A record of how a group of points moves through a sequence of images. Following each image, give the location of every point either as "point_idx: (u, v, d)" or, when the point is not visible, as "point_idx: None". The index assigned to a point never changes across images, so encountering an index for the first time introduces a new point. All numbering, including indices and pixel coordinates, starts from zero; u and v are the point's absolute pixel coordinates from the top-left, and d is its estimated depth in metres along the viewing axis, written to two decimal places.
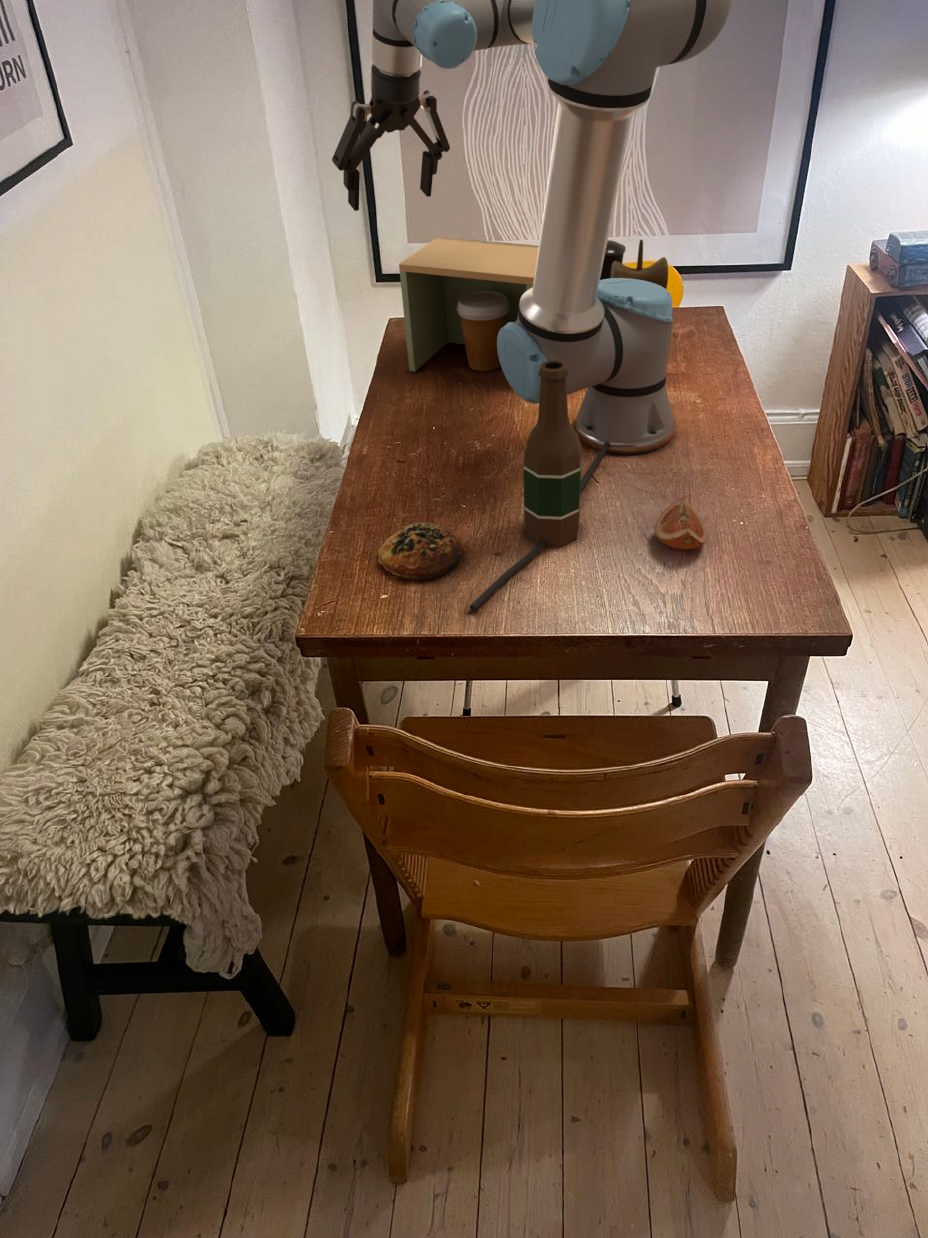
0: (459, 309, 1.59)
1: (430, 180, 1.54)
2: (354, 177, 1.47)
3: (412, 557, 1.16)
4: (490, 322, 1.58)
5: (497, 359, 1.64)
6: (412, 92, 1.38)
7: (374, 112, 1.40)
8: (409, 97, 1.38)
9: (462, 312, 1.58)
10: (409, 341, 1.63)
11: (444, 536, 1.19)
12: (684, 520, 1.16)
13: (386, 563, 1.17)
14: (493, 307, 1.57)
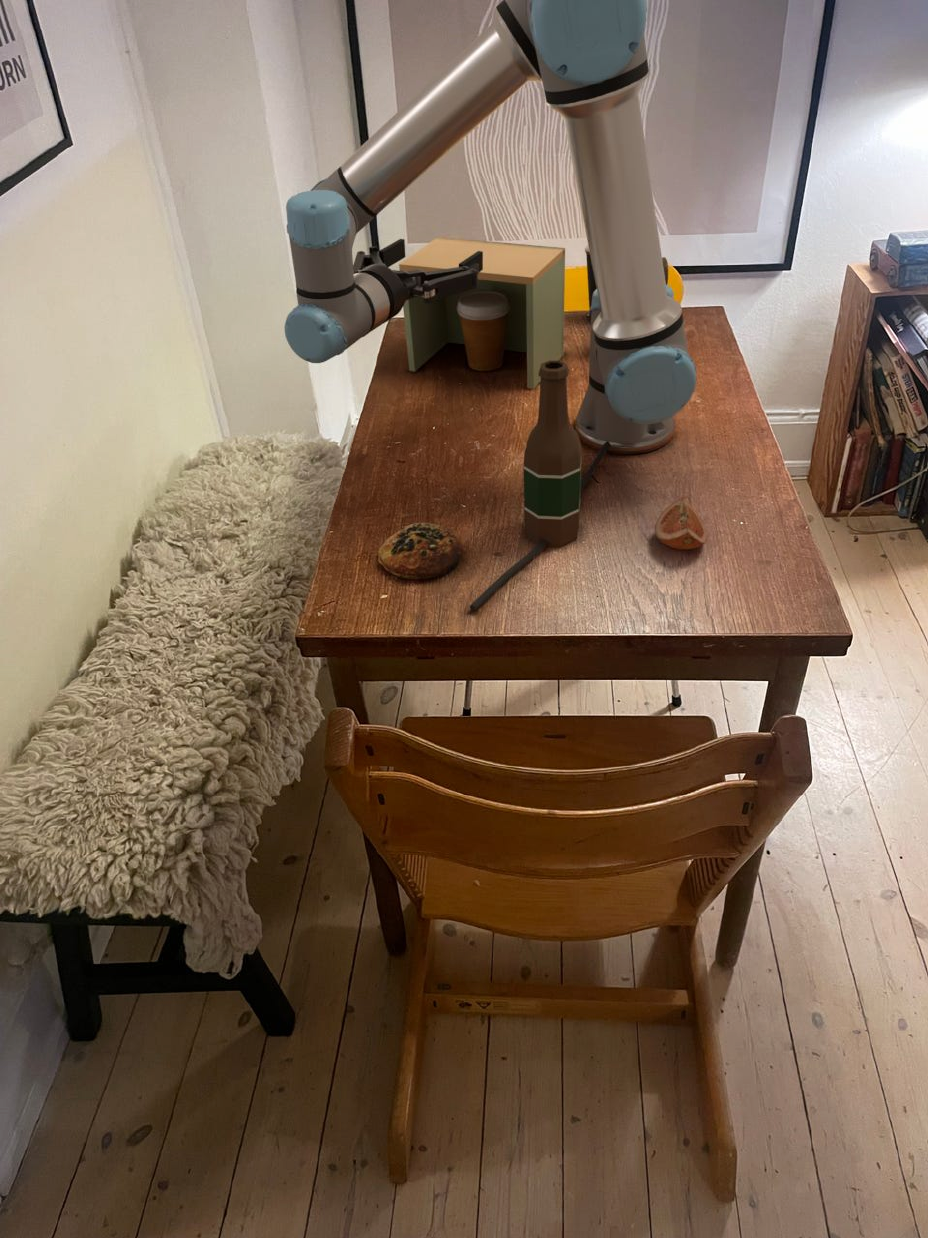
0: (459, 309, 1.59)
1: (393, 244, 1.40)
2: (466, 264, 1.34)
3: (412, 557, 1.16)
4: (490, 322, 1.58)
5: (497, 359, 1.64)
6: (369, 266, 1.26)
7: (413, 282, 1.28)
8: (374, 264, 1.26)
9: (462, 312, 1.58)
10: (409, 341, 1.63)
11: (444, 536, 1.19)
12: (684, 520, 1.16)
13: (386, 563, 1.17)
14: (493, 307, 1.57)
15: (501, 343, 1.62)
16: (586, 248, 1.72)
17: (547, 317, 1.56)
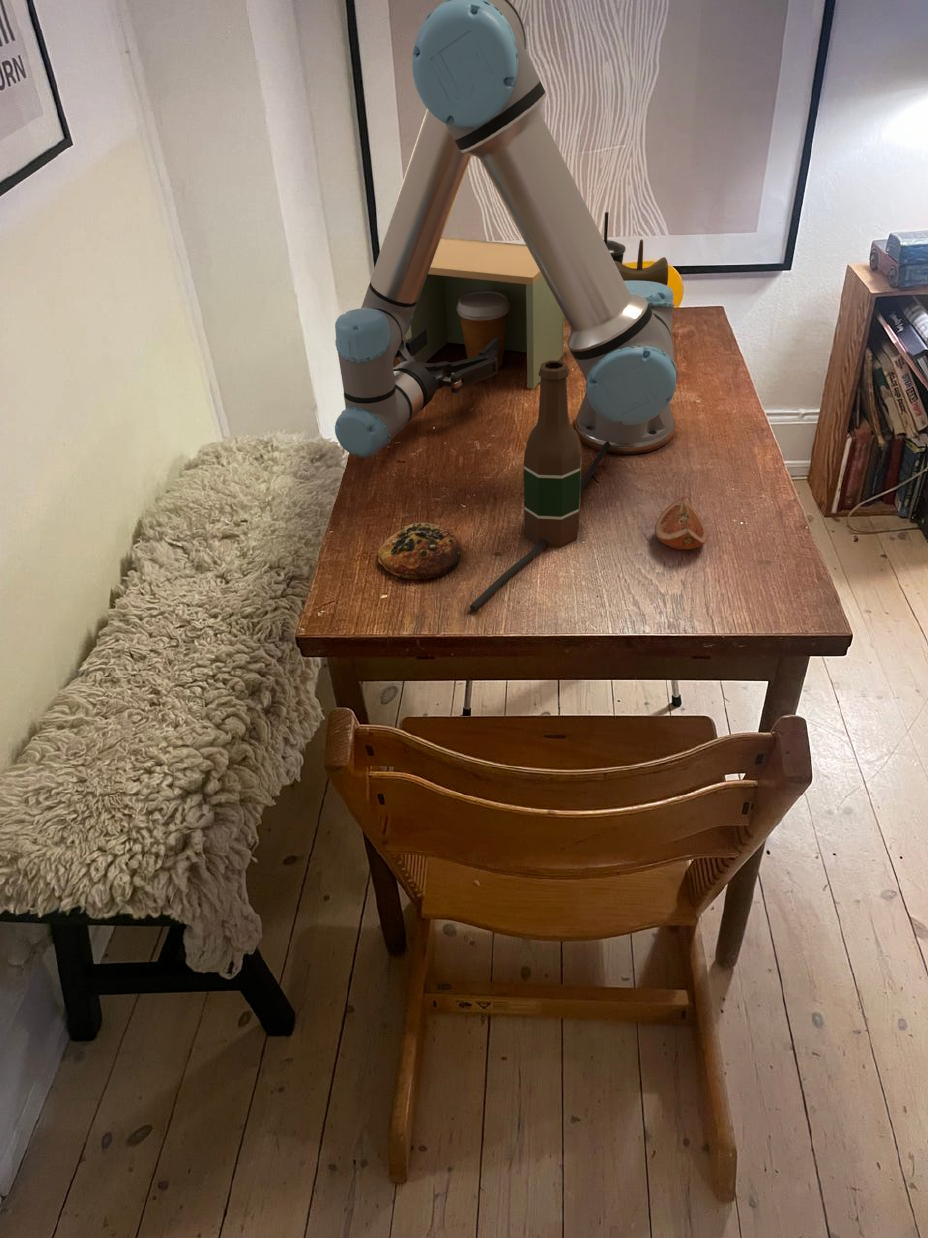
0: (459, 309, 1.59)
1: (416, 334, 1.55)
2: (485, 352, 1.48)
3: (412, 557, 1.16)
4: (490, 322, 1.58)
5: (497, 359, 1.64)
6: (402, 363, 1.41)
7: (442, 374, 1.43)
8: (406, 362, 1.41)
9: (462, 312, 1.58)
10: None
11: (444, 536, 1.19)
12: (684, 520, 1.16)
13: (386, 563, 1.17)
14: (493, 307, 1.57)
15: (501, 343, 1.62)
16: None
17: (547, 317, 1.56)
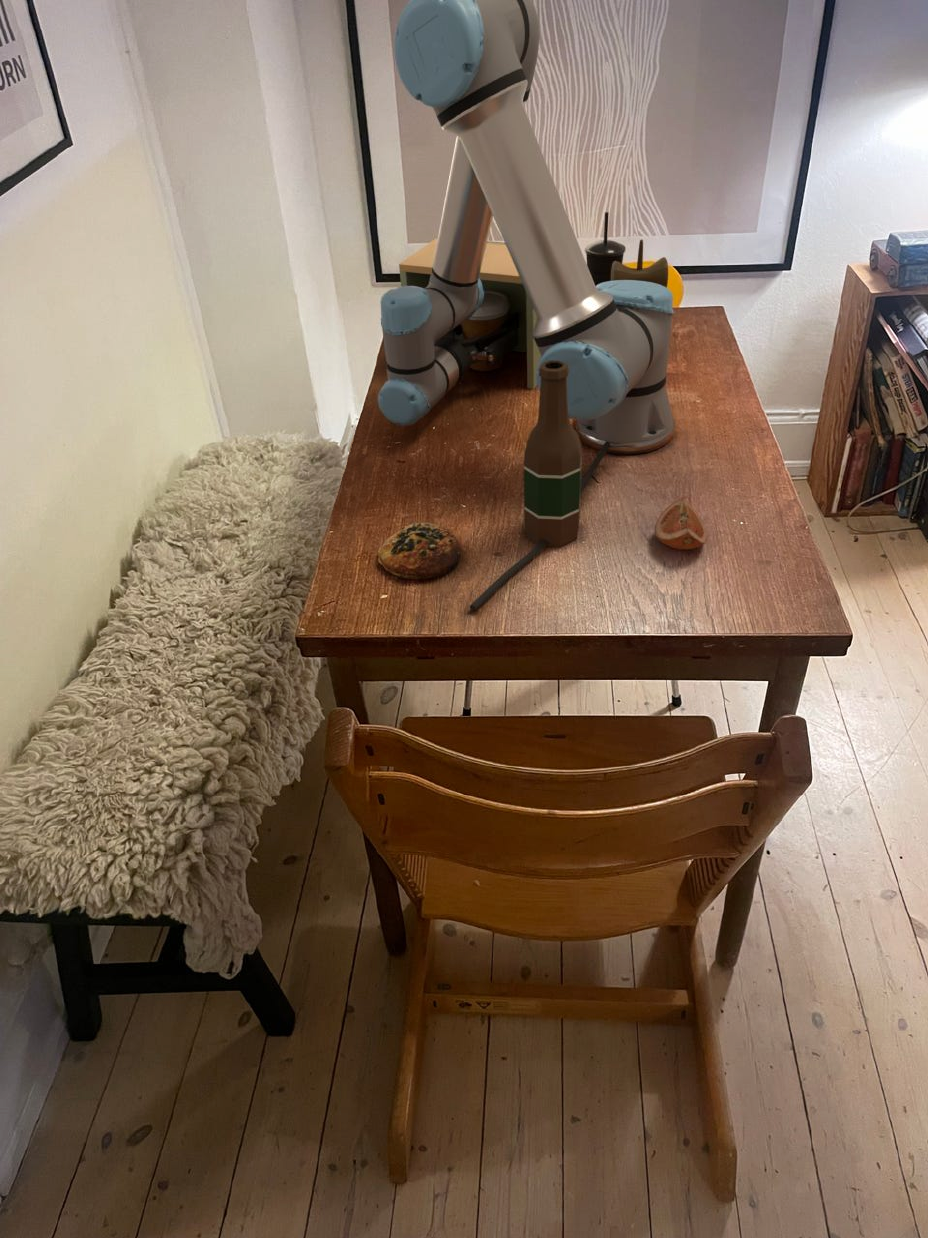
0: None
1: None
2: (507, 325, 1.60)
3: (412, 557, 1.16)
4: (489, 321, 1.58)
5: (497, 359, 1.64)
6: (438, 339, 1.50)
7: (476, 349, 1.53)
8: (443, 338, 1.50)
9: None
10: None
11: (444, 536, 1.19)
12: (684, 520, 1.16)
13: (386, 563, 1.17)
14: (493, 307, 1.57)
15: None
16: (586, 248, 1.72)
17: None
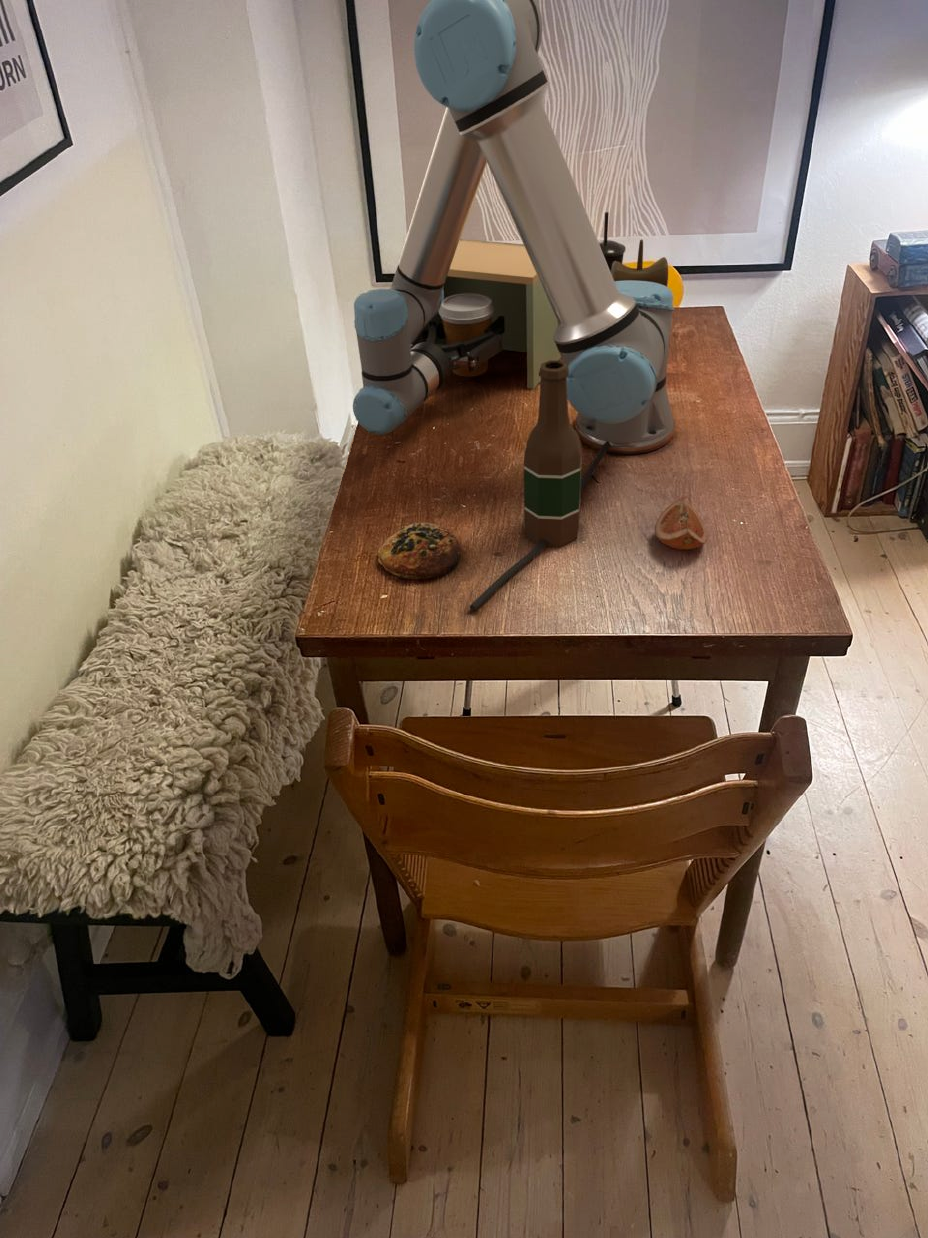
0: (441, 312, 1.53)
1: None
2: (491, 329, 1.54)
3: (412, 557, 1.16)
4: (473, 325, 1.52)
5: (481, 364, 1.58)
6: (418, 344, 1.44)
7: (458, 355, 1.46)
8: (423, 342, 1.44)
9: (444, 315, 1.52)
10: None
11: (444, 536, 1.19)
12: (684, 520, 1.16)
13: (386, 563, 1.17)
14: (476, 310, 1.50)
15: None
16: None
17: (547, 317, 1.56)
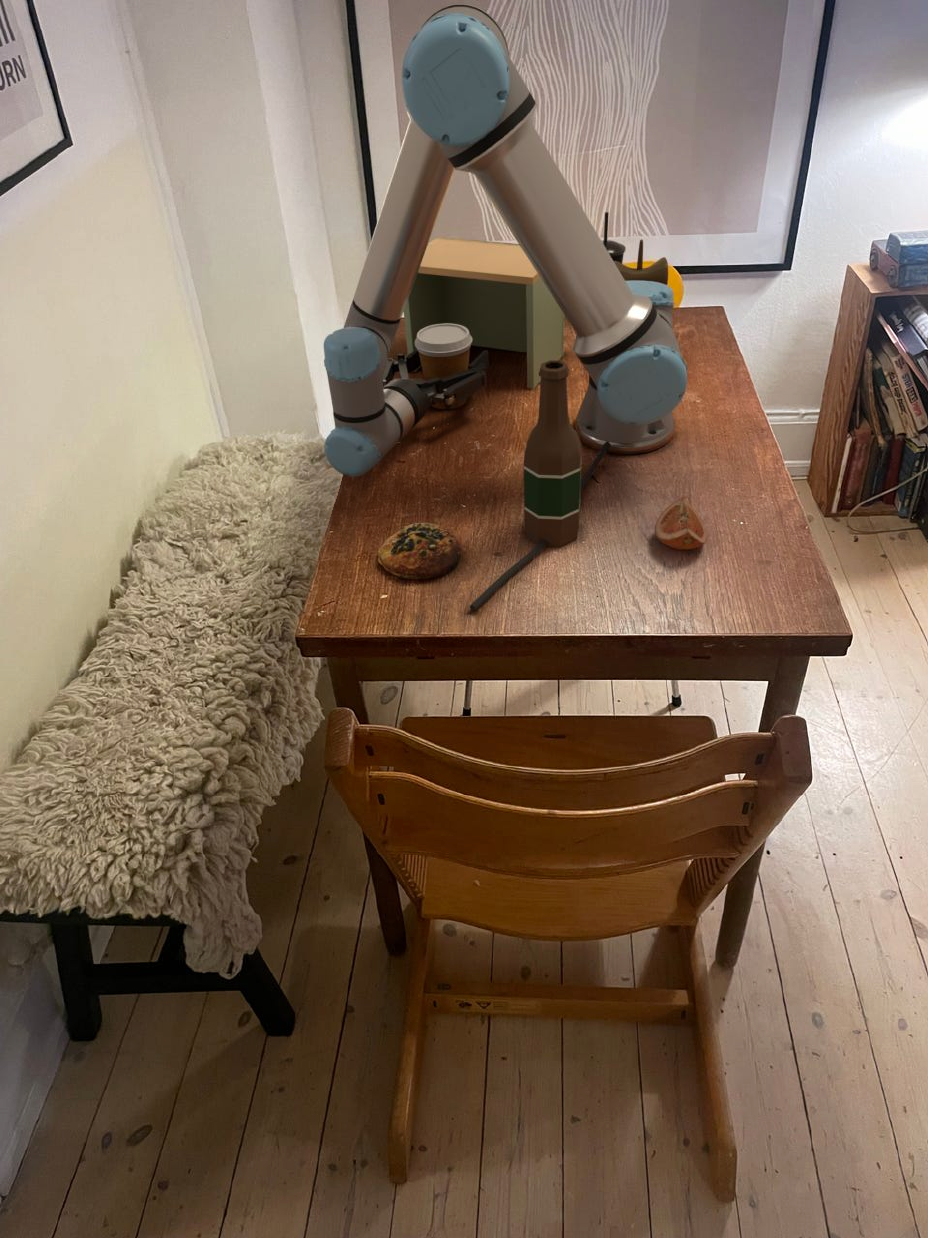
0: (417, 344, 1.48)
1: None
2: (474, 366, 1.48)
3: (412, 557, 1.16)
4: (450, 358, 1.47)
5: None
6: (393, 381, 1.39)
7: (434, 391, 1.42)
8: (398, 379, 1.39)
9: (420, 348, 1.47)
10: (409, 341, 1.63)
11: (444, 536, 1.19)
12: (684, 520, 1.16)
13: (386, 563, 1.17)
14: (453, 343, 1.46)
15: None
16: None
17: (547, 317, 1.56)
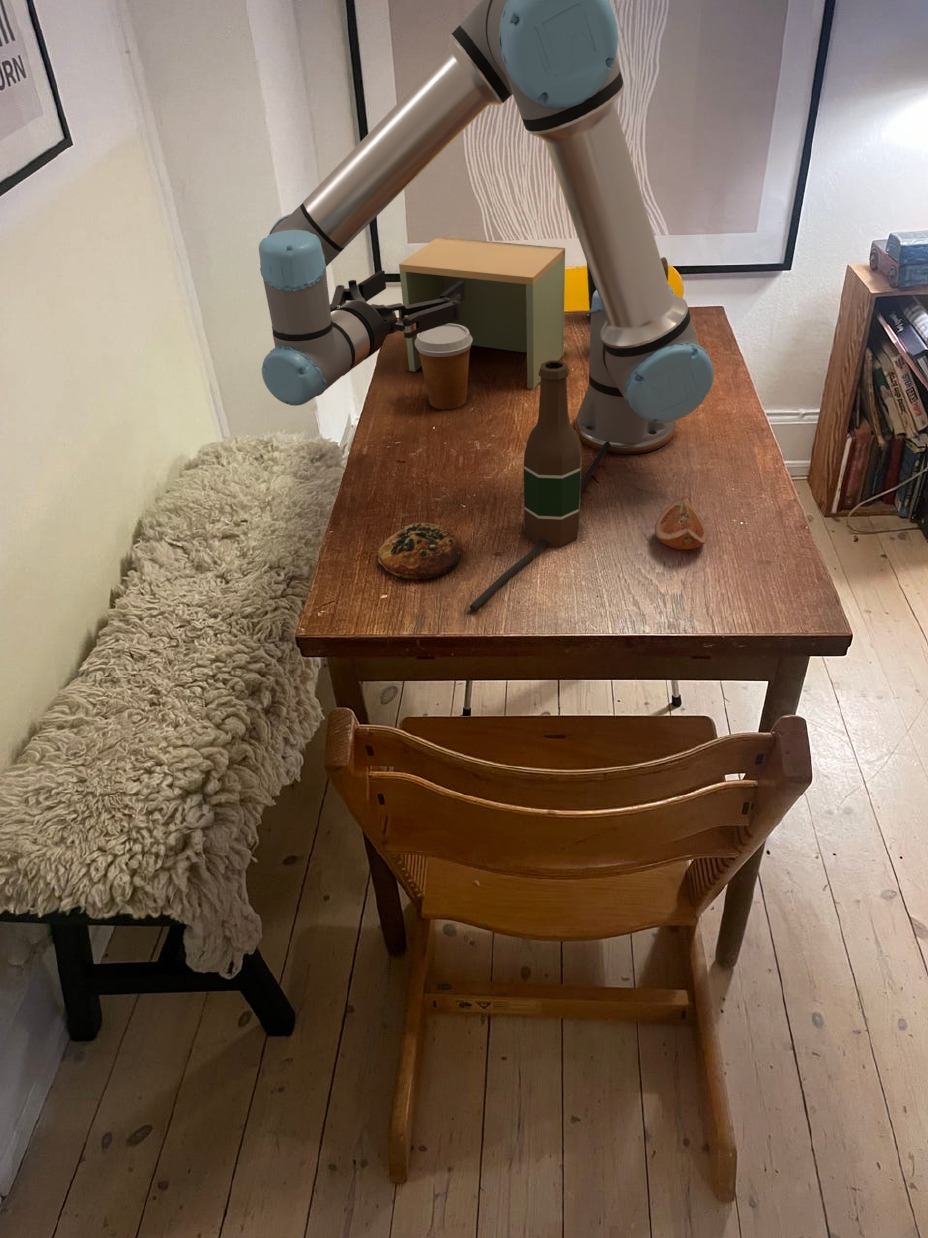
0: (417, 344, 1.48)
1: (372, 276, 1.37)
2: (447, 295, 1.31)
3: (411, 557, 1.16)
4: (450, 358, 1.47)
5: (459, 397, 1.53)
6: (347, 303, 1.23)
7: (394, 317, 1.25)
8: (353, 301, 1.23)
9: (420, 348, 1.47)
10: (409, 341, 1.63)
11: (443, 536, 1.19)
12: (684, 520, 1.16)
13: (386, 563, 1.17)
14: (453, 343, 1.46)
15: (463, 380, 1.52)
16: None
17: (547, 317, 1.56)
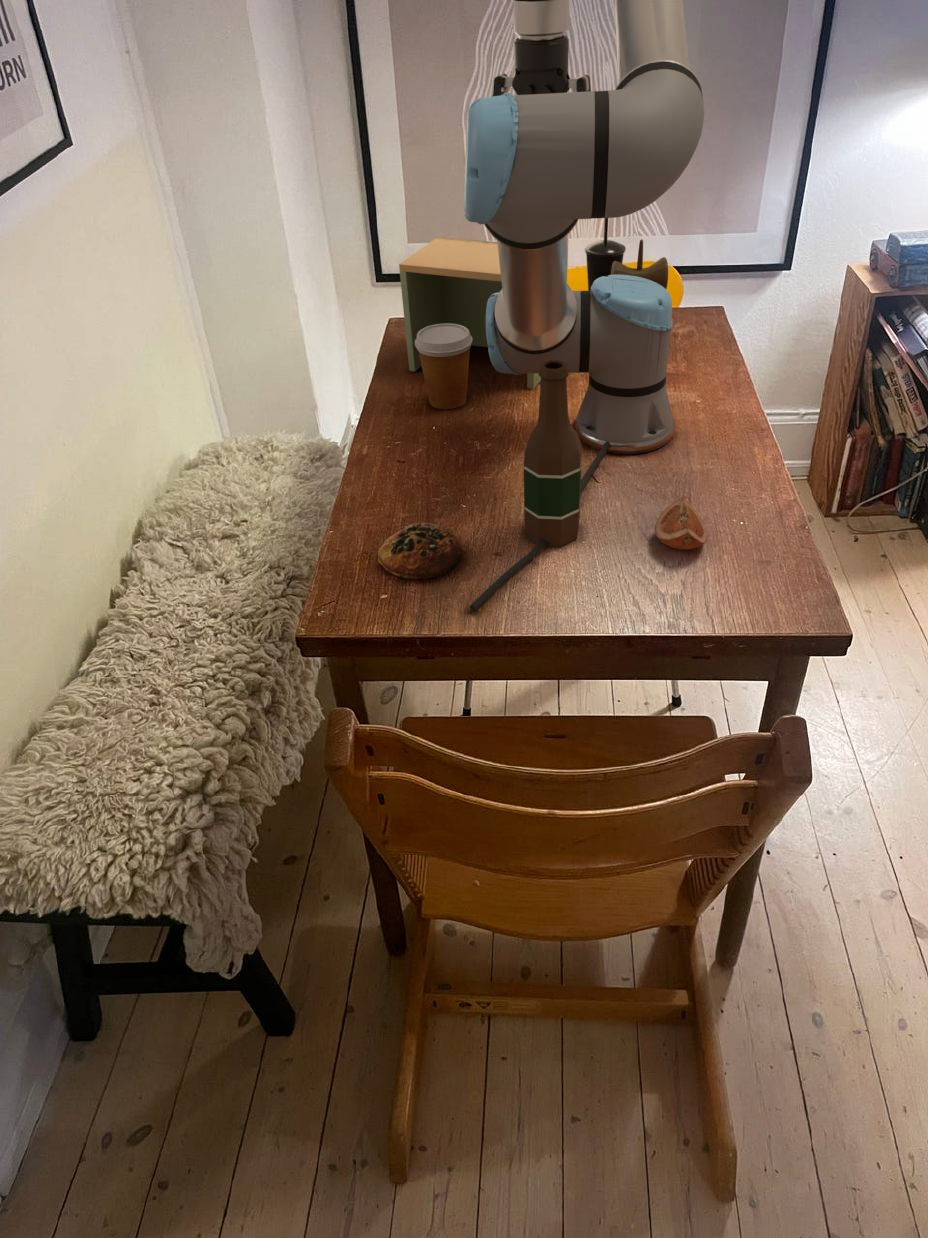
0: (417, 344, 1.48)
1: None
2: None
3: (411, 557, 1.16)
4: (450, 358, 1.47)
5: (459, 397, 1.53)
6: (539, 59, 1.24)
7: (513, 84, 1.30)
8: (535, 64, 1.25)
9: (420, 348, 1.47)
10: (409, 341, 1.63)
11: (443, 536, 1.19)
12: (684, 520, 1.16)
13: (386, 563, 1.17)
14: (453, 343, 1.46)
15: (463, 380, 1.52)
16: (586, 248, 1.72)
17: None
